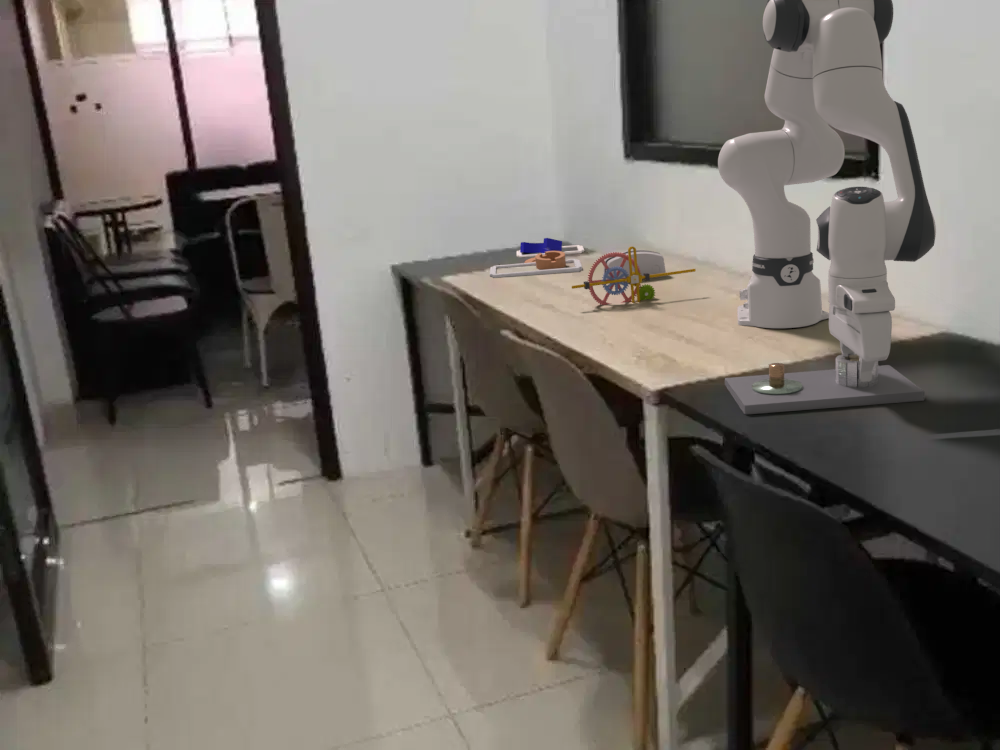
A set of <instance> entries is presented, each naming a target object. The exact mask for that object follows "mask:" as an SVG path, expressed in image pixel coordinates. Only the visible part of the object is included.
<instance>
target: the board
mask: <svg viewBox="0 0 1000 750" xmlns="http://www.w3.org/2000/svg"><path fill="white" fill-rule="evenodd" d="M766 379H769V374H760V375H759V374H758V375H749V376H747V375H746V376H735V377H733V376H731V377H725V378H724V386H725V387H726V389H727V390H728V392H729V393H730V395H731V396H732V398H733V399H734V401H735V403H736V404H737V405H738V407H739V408H740V410H741V411H742V413H743V414H744V415H756V414H768V413H771V414H772V413H780V412H781V413H782V412H783V413H784V412H794V411H796V412H797V411H806V410H807V411H808V410H818V409H819V410H822V409H832V408H846V407H859V406H871V405H884V404H886V405H887V404H896V403H909V402H921V401H922V402H923V401H925V390H924V389H922V388H921V387H919V386H918V385H916V383H914V382H913V381H911V380H910V379H909V378H908V377H906V376H904V374H902V373H901V372H899V371H898V370H897V369H895V368H894V367H892V366H891V365H890V364H885V365H878V382H877V383H876V384H875V385H872V386H868V387H847V386H843V385H839V384H838V383H836V368H833V369H832V368H831V369H823V370H821V369H820V370H808V371H798V372H786V373H785V372H784V379H790V380H795V381H798V382H800V383H801V384H802V389H801V390H800V391H798V392H796V393H792V394H785V395H767V394H761V393H757V392H755V391H753V390H752V384H753V383H755V382H757V381H761V380H766Z"/></svg>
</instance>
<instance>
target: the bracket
mask: <svg viewBox="0 0 1000 750" xmlns="http://www.w3.org/2000/svg"><path fill="white" fill-rule="evenodd" d="M564 252H565V251H563V250H562V251H546V252H545V255H542V253H536V254H537V255H536V256H535V257H529V258H528V259H526V260H525V261H524V262H523V263H532V262H536V265H535V266H536V267H535V268H536V269H537V270H546V269H558V268H567V263H566V261H565V260H566V254H565V253H564Z"/></svg>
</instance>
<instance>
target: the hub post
mask: <svg viewBox="0 0 1000 750" xmlns="http://www.w3.org/2000/svg"><path fill="white" fill-rule="evenodd" d="M784 373H785V363H781V362H772V363H769V364H768V375H769V379H766V380H761V381H757V382H755V383H753V384H752V390H753V391H755V392H757V393H761V394H767V395H785V394H792V393H796V392H798V391H800V390H801V389H802V384H801V383H800V382H798V381H795V380H790V379H784Z"/></svg>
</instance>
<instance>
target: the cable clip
mask: <svg viewBox="0 0 1000 750" xmlns="http://www.w3.org/2000/svg"><path fill="white" fill-rule="evenodd" d="M562 246H563V241H562V240H559V239H553V238H551V237H544V238H543V242H526V241H521V242H520V249H519V250H520V252H521V253H522V254H539V253H545V252H546V251H562V252H563V248H562Z"/></svg>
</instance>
